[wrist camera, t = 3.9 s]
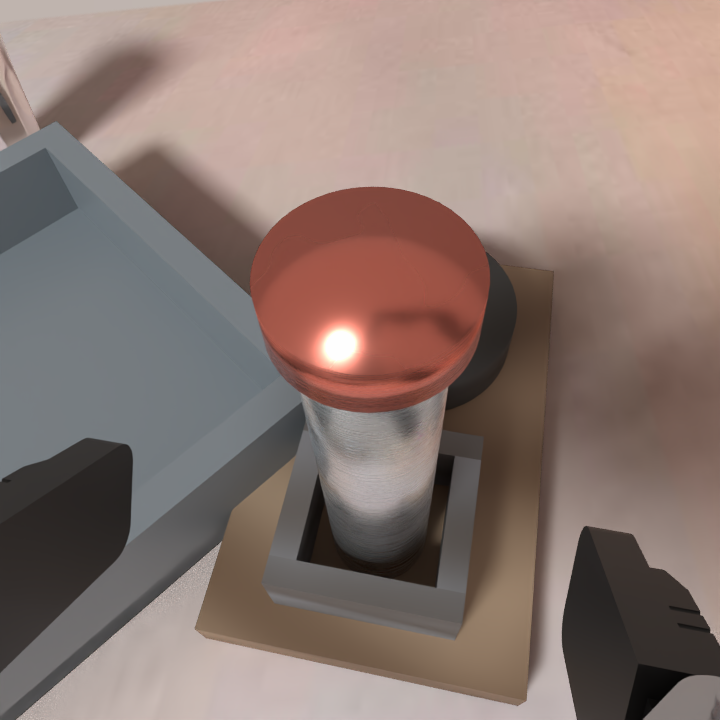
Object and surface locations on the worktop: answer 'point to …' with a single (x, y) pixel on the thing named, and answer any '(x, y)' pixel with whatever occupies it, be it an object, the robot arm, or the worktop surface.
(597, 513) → the worktop surface
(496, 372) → the wooden stand
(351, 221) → the pin
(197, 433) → the tray
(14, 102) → the milkshake
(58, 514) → the robot arm
